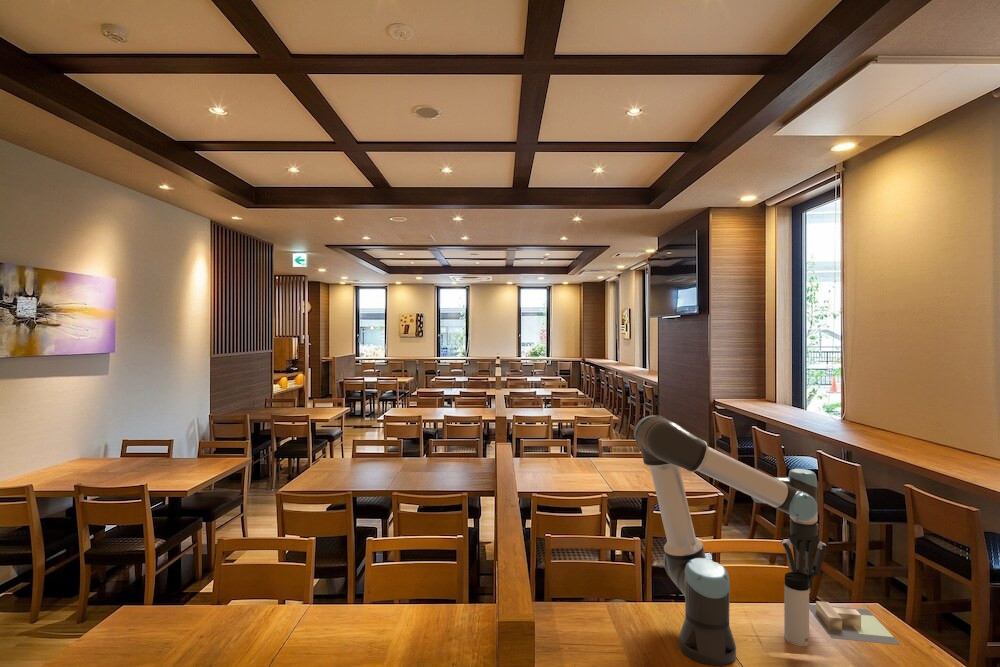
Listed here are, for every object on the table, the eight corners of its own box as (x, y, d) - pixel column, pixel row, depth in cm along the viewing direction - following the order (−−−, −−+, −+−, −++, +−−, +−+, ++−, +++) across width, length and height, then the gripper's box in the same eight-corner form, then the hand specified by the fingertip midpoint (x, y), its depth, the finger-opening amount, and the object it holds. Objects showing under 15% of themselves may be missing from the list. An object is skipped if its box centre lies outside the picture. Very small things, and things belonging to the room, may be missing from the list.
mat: (831, 642, 156) (831, 637, 156) (806, 607, 175) (806, 604, 175) (901, 649, 152) (901, 644, 152) (867, 613, 172) (867, 609, 172)
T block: (829, 629, 160) (828, 617, 160) (816, 612, 170) (816, 601, 170) (866, 632, 158) (866, 620, 158) (851, 615, 168) (851, 604, 168)
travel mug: (813, 651, 151) (813, 580, 151) (788, 648, 152) (788, 578, 152) (806, 639, 157) (805, 570, 157) (781, 636, 158) (781, 568, 158)
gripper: (784, 523, 164) (786, 601, 164) (831, 525, 161) (833, 604, 161) (777, 515, 171) (778, 589, 171) (821, 517, 169) (823, 592, 169)
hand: (804, 596), depth 166 cm, fingers closed
